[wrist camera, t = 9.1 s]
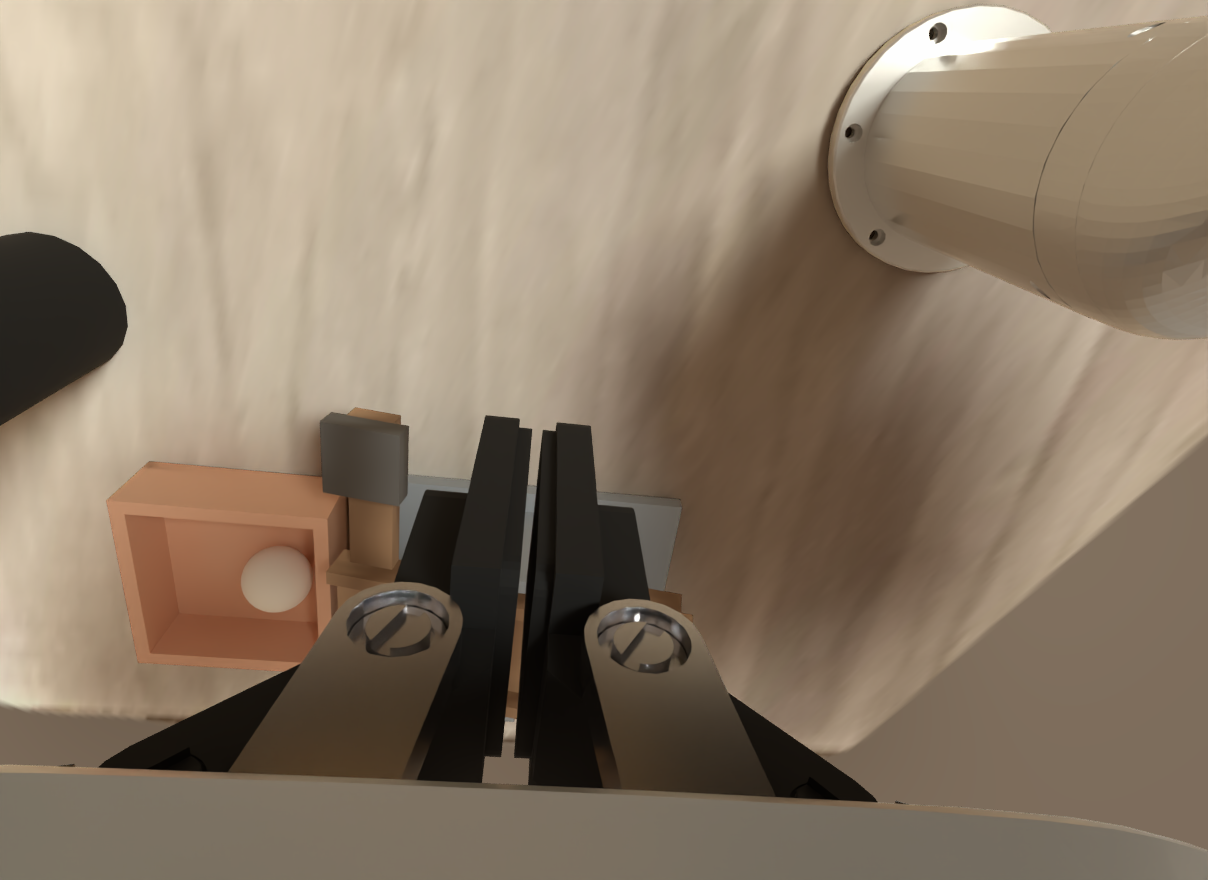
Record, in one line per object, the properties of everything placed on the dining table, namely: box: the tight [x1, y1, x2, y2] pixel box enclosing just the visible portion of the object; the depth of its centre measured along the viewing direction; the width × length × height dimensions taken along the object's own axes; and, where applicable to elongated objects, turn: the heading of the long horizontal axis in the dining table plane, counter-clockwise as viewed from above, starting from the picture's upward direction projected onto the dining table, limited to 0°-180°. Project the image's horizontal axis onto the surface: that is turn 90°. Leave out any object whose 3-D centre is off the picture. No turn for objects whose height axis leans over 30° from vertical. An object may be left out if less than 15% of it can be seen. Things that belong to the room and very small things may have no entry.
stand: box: [399, 475, 682, 722], centre depth 44 cm, size 20×13×8 cm, turn 82°
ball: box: [241, 546, 313, 613], centre depth 43 cm, size 4×4×4 cm
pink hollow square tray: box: [106, 461, 350, 671], centre depth 44 cm, size 12×12×4 cm
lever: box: [320, 407, 693, 719], centre depth 40 cm, size 20×17×6 cm
